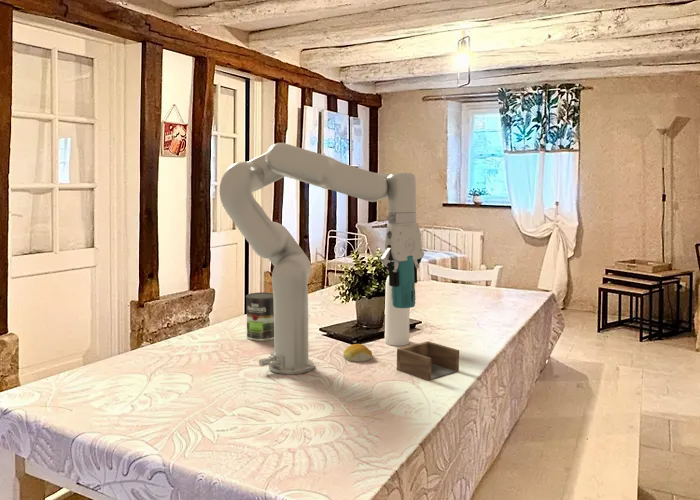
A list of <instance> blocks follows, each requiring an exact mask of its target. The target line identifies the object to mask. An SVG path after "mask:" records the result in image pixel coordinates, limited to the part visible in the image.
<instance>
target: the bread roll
mask: <svg viewBox="0 0 700 500" xmlns="http://www.w3.org/2000/svg"><path fill="white" fill-rule="evenodd" d="M343 357H344V358H345V360H347V361H349V362H355V363H357V362H358V363H359V362H360V363H361V362H367V361H370V360H371V359H372V357H373V352H372V350H370V349H369V348H368V347H367V346H366V345H364V344H362V343H353V344H351V345H349V346H347V347H345V349H344V350H343Z"/></svg>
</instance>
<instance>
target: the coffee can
mask: <svg viewBox="0 0 700 500" xmlns="http://www.w3.org/2000/svg"><path fill="white" fill-rule="evenodd" d="M245 298H246V339H247V340H250V341H255V342H266V341H272V340H273V341H274V301H273V292H261V291H260V292H252V293H247V294H246V295H245Z"/></svg>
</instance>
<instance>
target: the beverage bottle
mask: <svg viewBox="0 0 700 500" xmlns="http://www.w3.org/2000/svg"><path fill="white" fill-rule="evenodd" d="M392 260H394V259H393V257H392ZM393 266H394V263H393ZM397 272H399V286H398V287H394V286H392V303H393V307H396V308H411V309H412V308H414V307H416V303H417V302H416V283H415V281H414V276H415V275H414V274H415V273H414V260H413V256H412V255H410V256H408V257H407V261H405V262H399V265H398V269H397Z"/></svg>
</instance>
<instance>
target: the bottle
mask: <svg viewBox="0 0 700 500" xmlns="http://www.w3.org/2000/svg"><path fill="white" fill-rule="evenodd" d="M384 291H385V295H384V296H385V298H384V299H385V301H384V302H385V304H384V308H385V310H384V315H385V316H384V317H385V318H384V343H385V344H387V345H389V346H395V347H404V346H408V345H409V343H410V313H411V311H410V310H411V309H410V308H396V307H393V303H392V286H390V285H389V275H387V277H386V280H385V290H384Z"/></svg>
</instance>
